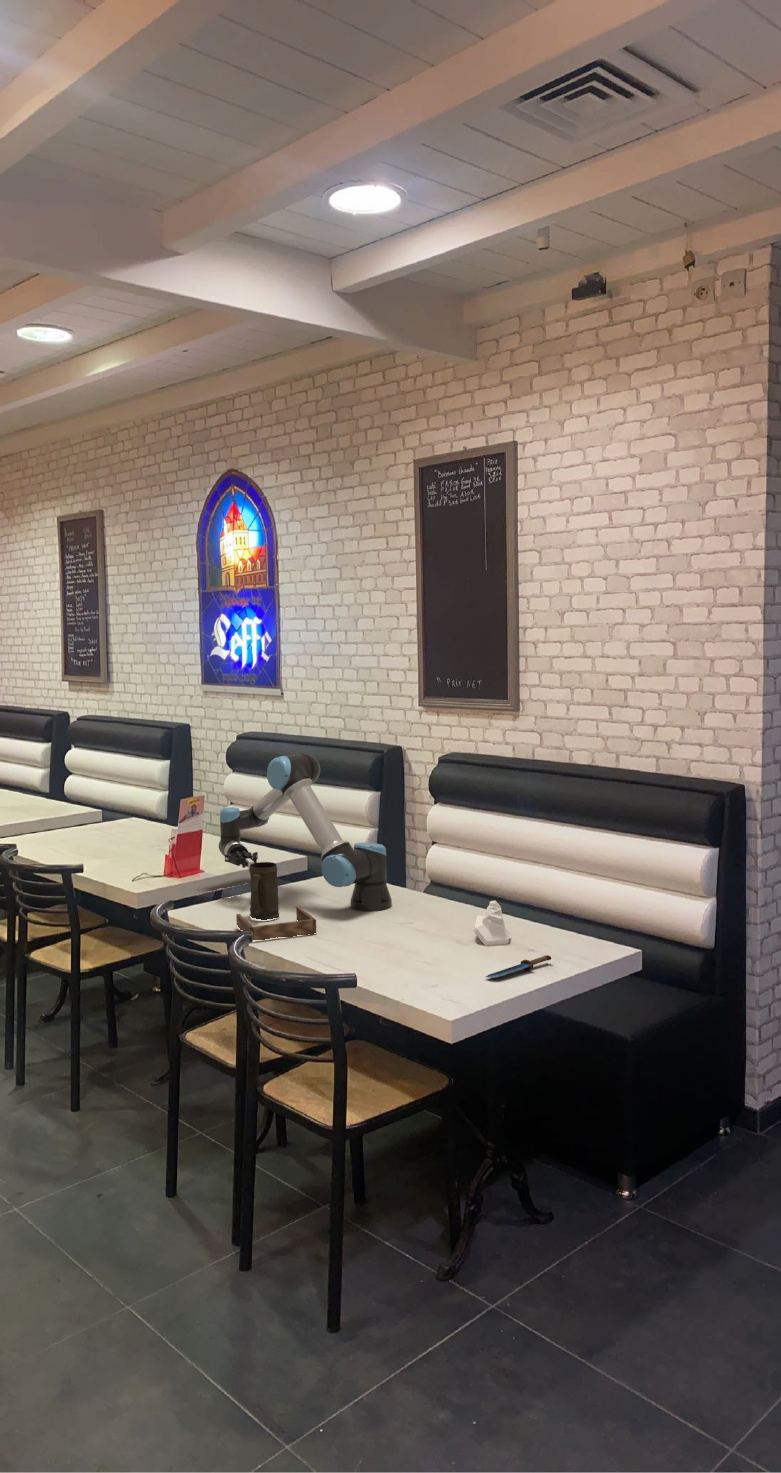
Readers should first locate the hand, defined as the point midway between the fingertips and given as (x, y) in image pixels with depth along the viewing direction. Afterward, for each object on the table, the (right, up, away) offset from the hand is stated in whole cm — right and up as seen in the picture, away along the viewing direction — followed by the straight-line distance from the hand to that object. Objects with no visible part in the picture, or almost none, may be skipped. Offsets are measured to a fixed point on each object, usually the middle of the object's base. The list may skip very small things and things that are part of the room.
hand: (252, 865), depth 372 cm
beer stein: (+5, -18, -10) cm, 21 cm away
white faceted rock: (+82, -19, -38) cm, 93 cm away
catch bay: (+11, -19, -25) cm, 33 cm away
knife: (+87, -22, -71) cm, 115 cm away
